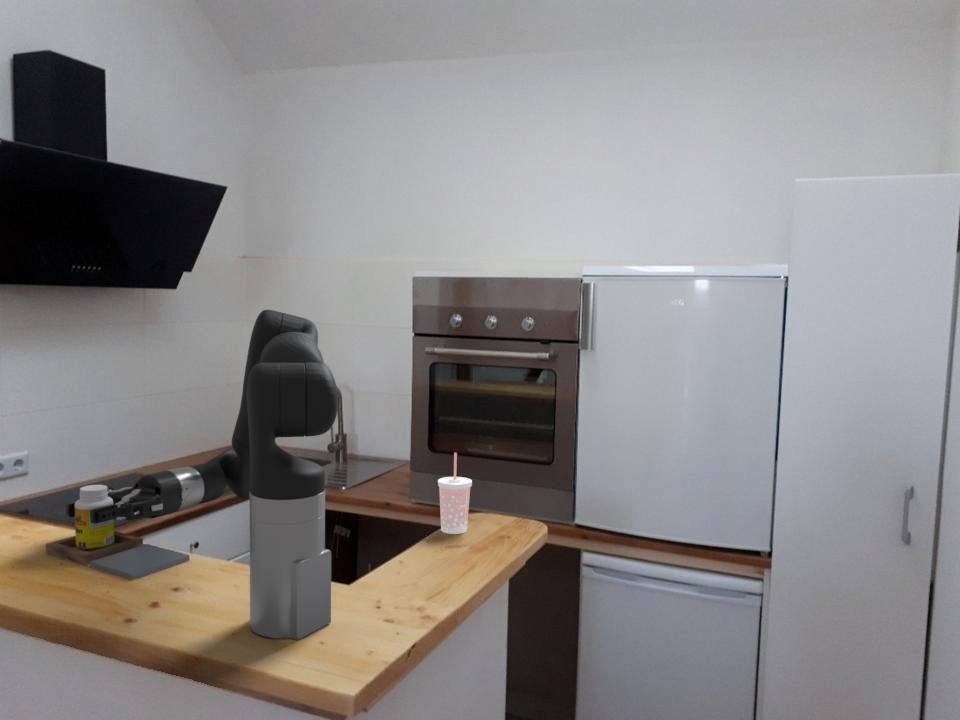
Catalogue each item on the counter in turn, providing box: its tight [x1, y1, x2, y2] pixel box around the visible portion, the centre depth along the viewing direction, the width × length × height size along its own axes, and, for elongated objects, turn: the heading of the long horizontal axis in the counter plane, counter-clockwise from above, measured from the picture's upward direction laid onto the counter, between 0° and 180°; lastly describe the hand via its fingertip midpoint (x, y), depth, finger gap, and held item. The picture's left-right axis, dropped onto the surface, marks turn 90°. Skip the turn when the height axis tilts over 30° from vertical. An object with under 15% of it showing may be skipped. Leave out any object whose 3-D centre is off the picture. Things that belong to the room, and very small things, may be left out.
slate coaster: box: [89, 543, 190, 581], centre depth 120 cm, size 10×10×1 cm
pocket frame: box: [45, 530, 144, 566], centre depth 126 cm, size 10×10×2 cm
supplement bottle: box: [74, 484, 115, 552], centre depth 125 cm, size 6×6×10 cm
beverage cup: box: [437, 452, 473, 535], centre depth 140 cm, size 6×6×14 cm
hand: (79, 513), depth 123 cm, fingers closed on supplement bottle, 5 cm apart
